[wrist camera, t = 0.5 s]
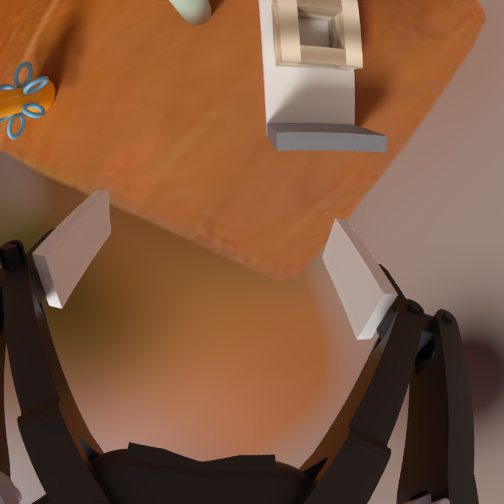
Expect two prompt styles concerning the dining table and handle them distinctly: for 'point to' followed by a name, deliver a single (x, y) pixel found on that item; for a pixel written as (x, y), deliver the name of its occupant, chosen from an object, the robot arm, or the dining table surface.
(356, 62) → the block
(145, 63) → the dining table surface
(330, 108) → the backstop
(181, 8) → the dowel
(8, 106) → the orange ringed tube
